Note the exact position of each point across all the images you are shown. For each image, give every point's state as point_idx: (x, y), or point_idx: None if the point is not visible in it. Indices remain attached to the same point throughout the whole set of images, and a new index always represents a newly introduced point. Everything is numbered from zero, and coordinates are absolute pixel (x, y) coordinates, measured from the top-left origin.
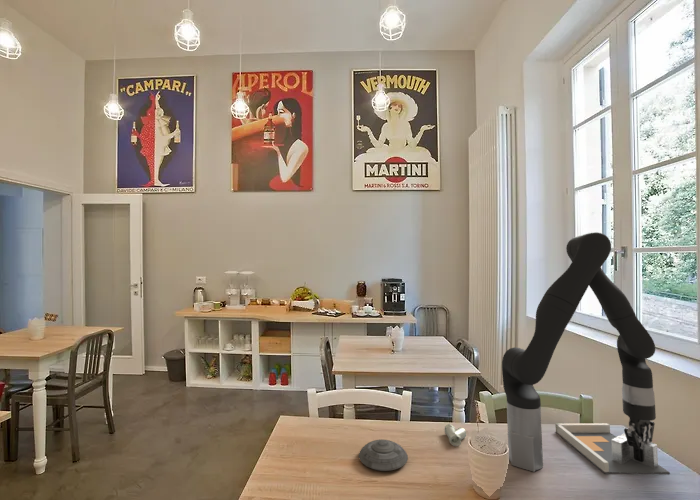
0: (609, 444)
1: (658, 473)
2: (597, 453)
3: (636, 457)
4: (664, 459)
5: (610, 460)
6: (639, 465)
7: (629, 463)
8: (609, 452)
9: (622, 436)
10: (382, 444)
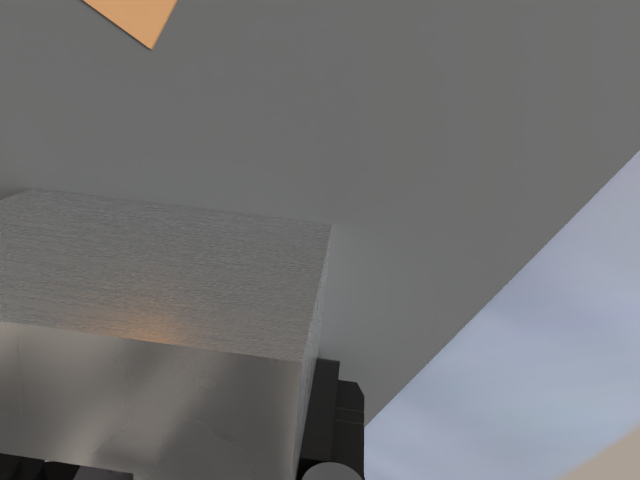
0: (416, 14)
1: None
2: (14, 20)
3: None
4: (523, 461)
5: (6, 178)
6: None
7: None
8: (176, 104)
9: (91, 375)
10: None
